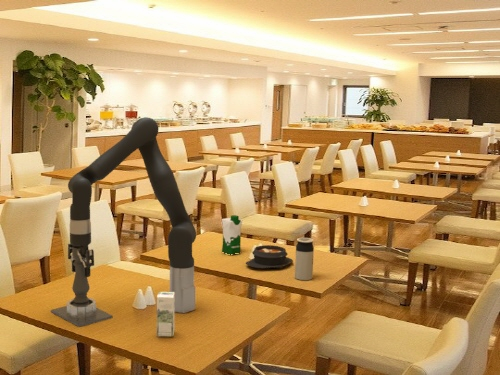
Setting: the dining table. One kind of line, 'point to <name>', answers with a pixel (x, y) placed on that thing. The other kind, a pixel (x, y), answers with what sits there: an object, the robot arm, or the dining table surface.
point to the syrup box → (165, 314)
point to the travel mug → (304, 259)
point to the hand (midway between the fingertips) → (81, 274)
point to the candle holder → (79, 281)
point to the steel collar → (82, 313)
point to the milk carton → (231, 235)
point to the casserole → (269, 257)
